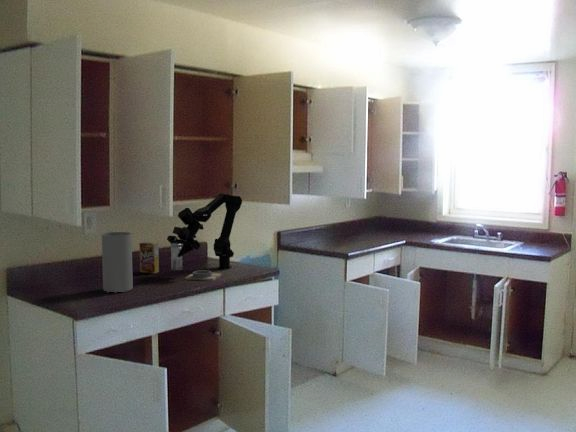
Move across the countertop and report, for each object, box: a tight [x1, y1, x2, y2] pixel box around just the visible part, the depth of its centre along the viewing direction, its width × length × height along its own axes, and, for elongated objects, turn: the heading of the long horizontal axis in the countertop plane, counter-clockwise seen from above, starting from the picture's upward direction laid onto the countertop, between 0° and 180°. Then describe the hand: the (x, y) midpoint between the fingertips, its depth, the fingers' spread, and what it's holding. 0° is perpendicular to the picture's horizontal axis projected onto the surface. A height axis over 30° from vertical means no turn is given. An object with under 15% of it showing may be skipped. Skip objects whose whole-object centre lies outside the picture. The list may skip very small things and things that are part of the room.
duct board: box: [184, 272, 223, 282], centre depth 286 cm, size 14×14×1 cm
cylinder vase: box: [101, 231, 134, 294], centre depth 256 cm, size 12×12×25 cm
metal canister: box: [170, 243, 183, 271], centre depth 282 cm, size 6×6×12 cm
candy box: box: [139, 241, 160, 274], centre depth 296 cm, size 9×4×15 cm, turn 69°
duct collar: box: [192, 269, 213, 278], centre depth 283 cm, size 9×9×2 cm
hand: (174, 256), depth 281 cm, fingers closed on metal canister, 5 cm apart
